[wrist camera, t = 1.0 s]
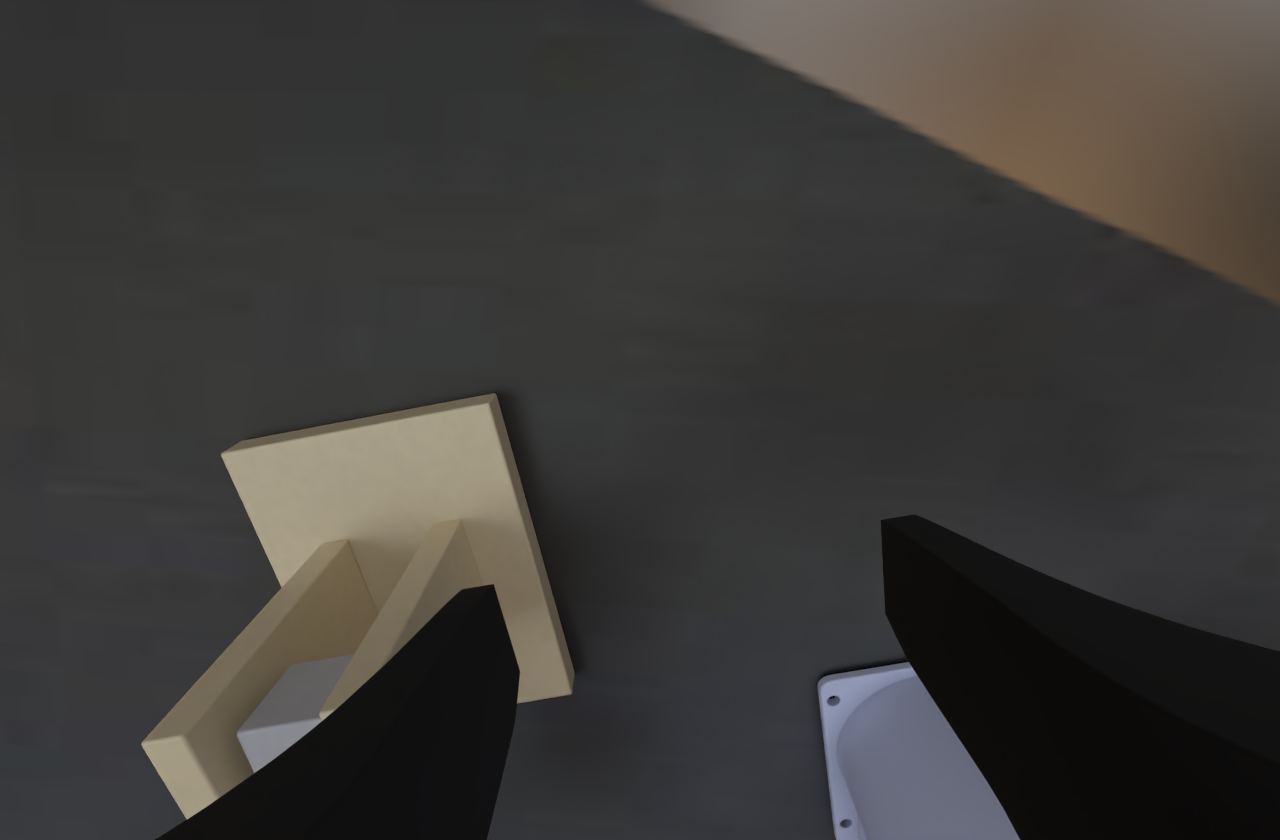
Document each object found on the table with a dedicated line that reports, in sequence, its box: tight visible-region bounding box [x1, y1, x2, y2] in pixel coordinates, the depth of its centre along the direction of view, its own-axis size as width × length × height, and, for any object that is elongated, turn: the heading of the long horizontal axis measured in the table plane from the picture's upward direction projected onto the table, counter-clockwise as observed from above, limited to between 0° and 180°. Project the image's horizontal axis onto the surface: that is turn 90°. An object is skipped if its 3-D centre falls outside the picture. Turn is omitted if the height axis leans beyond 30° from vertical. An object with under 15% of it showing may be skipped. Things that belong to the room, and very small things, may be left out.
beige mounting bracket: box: [142, 393, 575, 819], centre depth 18 cm, size 12×9×9 cm
